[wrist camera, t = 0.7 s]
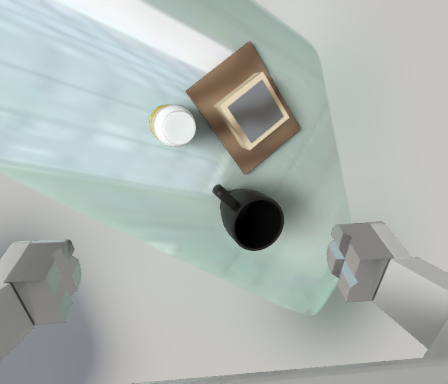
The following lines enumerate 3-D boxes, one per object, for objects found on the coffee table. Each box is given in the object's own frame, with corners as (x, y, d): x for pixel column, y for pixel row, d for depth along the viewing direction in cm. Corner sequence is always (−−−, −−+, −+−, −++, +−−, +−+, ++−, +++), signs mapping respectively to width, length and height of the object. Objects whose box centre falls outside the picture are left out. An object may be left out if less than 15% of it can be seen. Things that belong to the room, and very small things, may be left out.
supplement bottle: (140, 125, 45) (147, 131, 37) (163, 96, 45) (175, 94, 37) (170, 148, 48) (183, 159, 39) (192, 120, 48) (209, 124, 39)
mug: (220, 156, 50) (242, 167, 42) (266, 202, 55) (294, 220, 47) (185, 194, 50) (200, 213, 42) (235, 236, 55) (257, 261, 46)
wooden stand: (185, 91, 46) (192, 90, 42) (247, 42, 47) (259, 36, 43) (243, 173, 52) (254, 178, 49) (297, 128, 54) (311, 130, 50)
